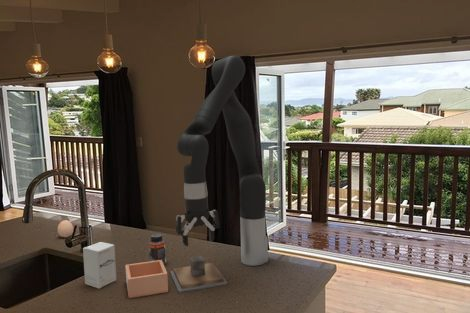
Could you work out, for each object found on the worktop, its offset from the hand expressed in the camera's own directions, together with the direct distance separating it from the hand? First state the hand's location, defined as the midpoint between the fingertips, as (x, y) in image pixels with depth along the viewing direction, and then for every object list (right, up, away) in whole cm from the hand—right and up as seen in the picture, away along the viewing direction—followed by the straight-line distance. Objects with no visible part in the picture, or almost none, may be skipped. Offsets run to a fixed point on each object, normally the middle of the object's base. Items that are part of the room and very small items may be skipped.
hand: (198, 243), depth 131 cm
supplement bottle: (-16, -11, +15) cm, 25 cm away
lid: (-1, -12, +2) cm, 12 cm away
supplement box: (-33, -14, +1) cm, 35 cm away
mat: (-1, -12, +2) cm, 13 cm away
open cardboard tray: (-17, -13, -3) cm, 22 cm away
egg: (-65, -8, +49) cm, 82 cm away
